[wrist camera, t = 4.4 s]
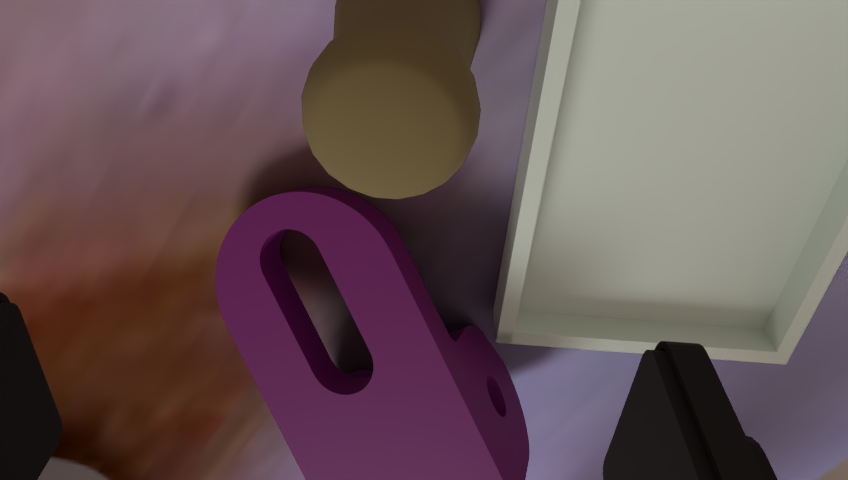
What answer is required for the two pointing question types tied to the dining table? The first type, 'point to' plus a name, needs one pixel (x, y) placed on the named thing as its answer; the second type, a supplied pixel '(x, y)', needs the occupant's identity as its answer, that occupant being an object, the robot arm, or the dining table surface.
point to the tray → (679, 177)
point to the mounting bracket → (387, 342)
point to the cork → (395, 95)
